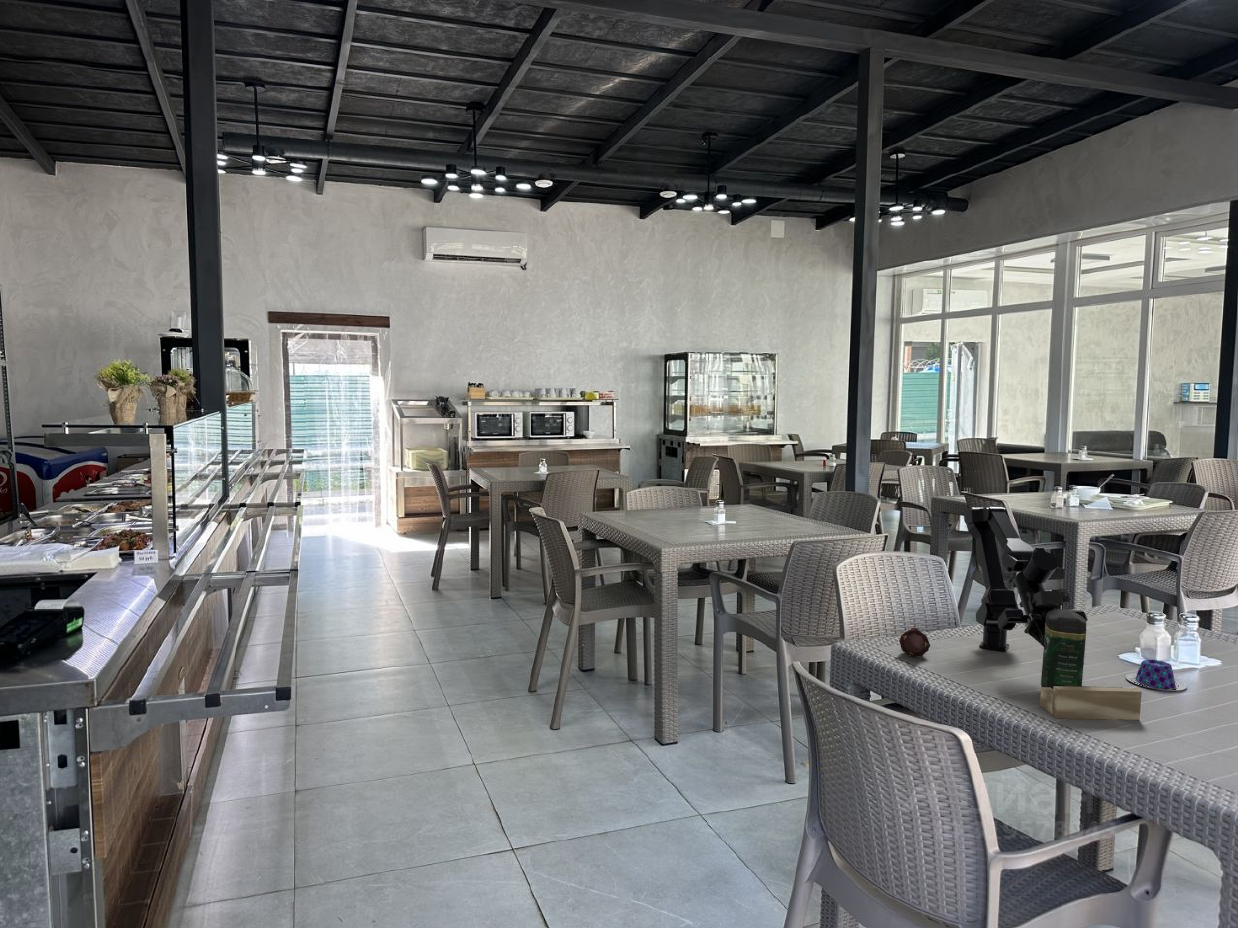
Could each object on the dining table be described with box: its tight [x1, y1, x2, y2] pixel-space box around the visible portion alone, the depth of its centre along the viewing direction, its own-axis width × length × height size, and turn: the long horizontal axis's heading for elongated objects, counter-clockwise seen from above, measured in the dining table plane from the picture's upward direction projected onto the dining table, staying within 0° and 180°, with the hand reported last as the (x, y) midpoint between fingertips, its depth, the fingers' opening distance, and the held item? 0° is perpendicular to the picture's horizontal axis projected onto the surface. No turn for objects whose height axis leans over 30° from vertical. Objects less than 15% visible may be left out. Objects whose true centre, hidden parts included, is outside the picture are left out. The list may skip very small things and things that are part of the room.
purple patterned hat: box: [1125, 658, 1187, 692], centre depth 194 cm, size 12×12×5 cm
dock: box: [1039, 685, 1142, 721], centre depth 175 cm, size 7×17×6 cm, turn 89°
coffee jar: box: [1040, 608, 1087, 689], centre depth 185 cm, size 10×8×19 cm
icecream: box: [898, 626, 931, 657], centre depth 212 cm, size 7×7×15 cm
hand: (1053, 652), depth 190 cm, fingers closed, pressing on coffee jar
